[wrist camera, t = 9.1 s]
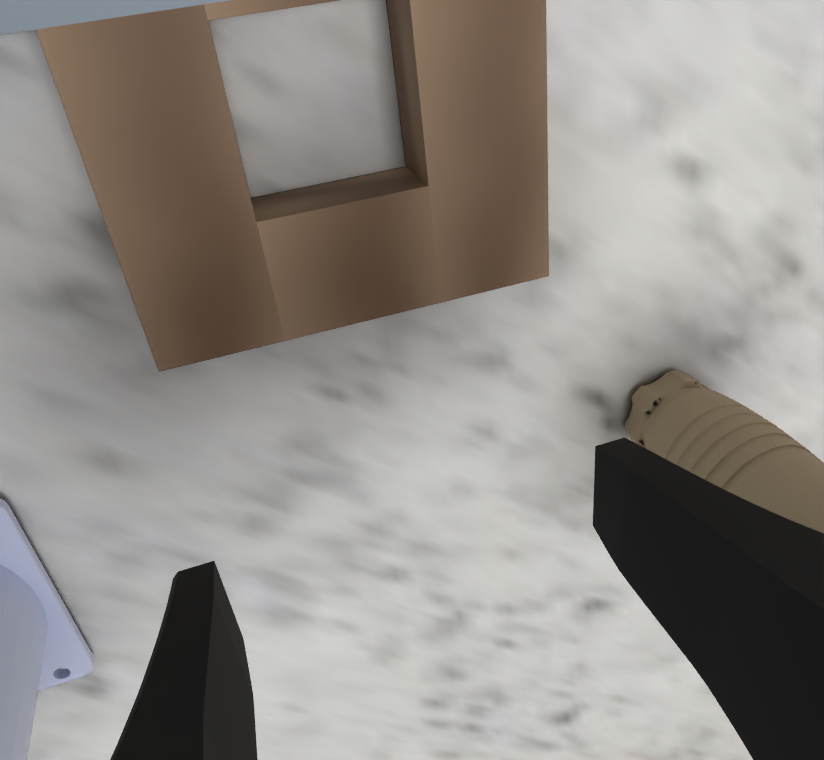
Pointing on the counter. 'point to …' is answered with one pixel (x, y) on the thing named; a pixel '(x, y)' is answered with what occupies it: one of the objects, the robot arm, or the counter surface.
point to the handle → (728, 447)
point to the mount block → (316, 205)
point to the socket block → (77, 11)
